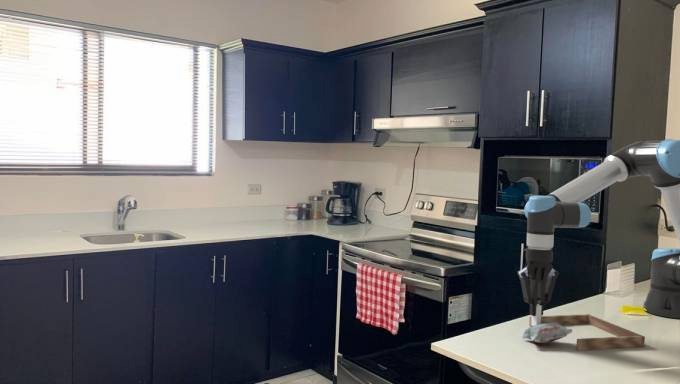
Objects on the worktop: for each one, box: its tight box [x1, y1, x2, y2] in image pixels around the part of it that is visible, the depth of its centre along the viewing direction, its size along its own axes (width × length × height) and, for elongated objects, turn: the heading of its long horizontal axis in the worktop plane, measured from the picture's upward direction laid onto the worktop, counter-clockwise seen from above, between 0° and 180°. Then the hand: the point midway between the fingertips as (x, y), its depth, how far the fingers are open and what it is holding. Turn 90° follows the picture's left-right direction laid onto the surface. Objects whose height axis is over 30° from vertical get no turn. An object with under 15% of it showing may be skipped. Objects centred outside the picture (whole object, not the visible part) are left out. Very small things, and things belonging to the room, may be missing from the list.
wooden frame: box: [528, 313, 646, 351], centre depth 168 cm, size 22×24×3 cm
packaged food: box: [522, 323, 573, 344], centre depth 158 cm, size 9×12×5 cm
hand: (535, 326), depth 164 cm, fingers closed
